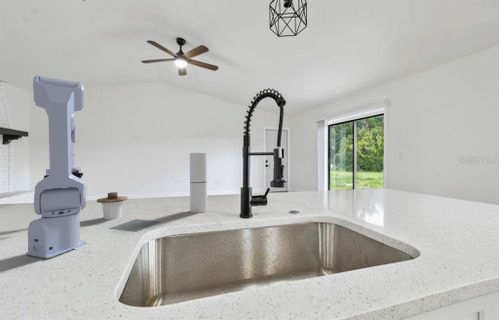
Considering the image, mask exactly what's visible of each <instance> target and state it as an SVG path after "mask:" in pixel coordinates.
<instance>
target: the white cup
mask: <svg viewBox="0 0 499 320" xmlns="http://www.w3.org/2000/svg"><path fill="white" fill-rule="evenodd" d="M123 202H124V201H120V202H113V203H101V205H102V213H103V219H104V220H107V221H108V220H116V219H120V218H122V215H123V214H122V213H123Z"/></svg>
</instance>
